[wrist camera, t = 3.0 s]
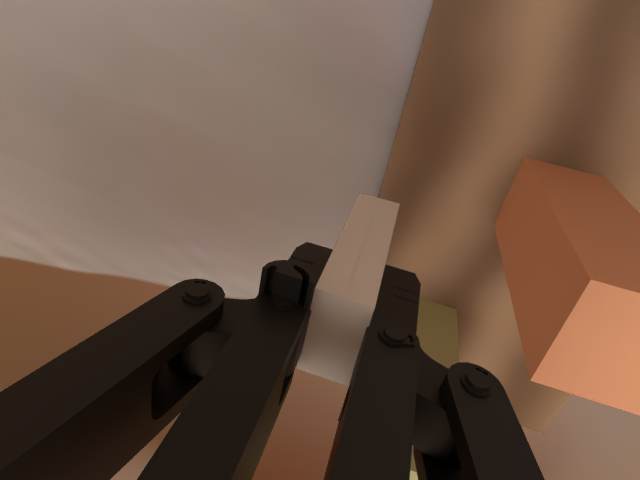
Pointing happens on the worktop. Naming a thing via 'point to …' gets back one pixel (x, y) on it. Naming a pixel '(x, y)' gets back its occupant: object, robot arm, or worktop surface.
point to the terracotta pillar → (574, 281)
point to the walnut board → (506, 152)
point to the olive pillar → (437, 340)
